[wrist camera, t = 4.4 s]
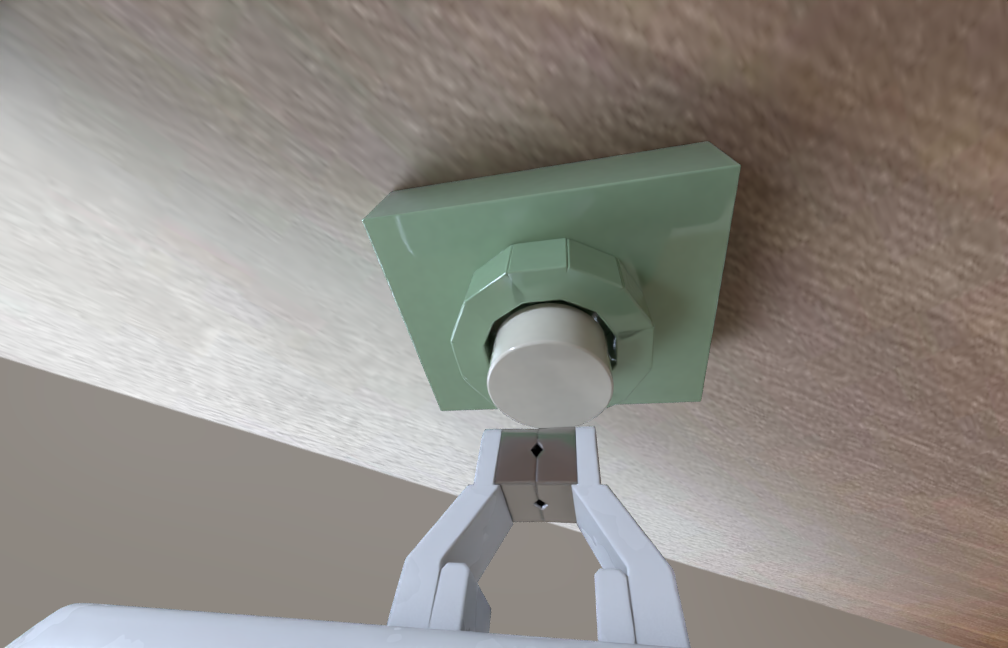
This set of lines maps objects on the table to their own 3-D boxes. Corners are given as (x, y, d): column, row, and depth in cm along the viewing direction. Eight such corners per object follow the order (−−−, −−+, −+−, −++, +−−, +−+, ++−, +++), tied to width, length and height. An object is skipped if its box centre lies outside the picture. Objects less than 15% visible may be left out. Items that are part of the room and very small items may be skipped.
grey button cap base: (709, 140, 13) (773, 186, 9) (683, 356, 19) (716, 440, 15) (390, 191, 16) (334, 245, 12) (453, 369, 22) (430, 445, 18)
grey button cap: (605, 296, 12) (612, 336, 11) (608, 384, 15) (615, 429, 13) (484, 307, 13) (473, 346, 11) (505, 389, 15) (498, 432, 14)
